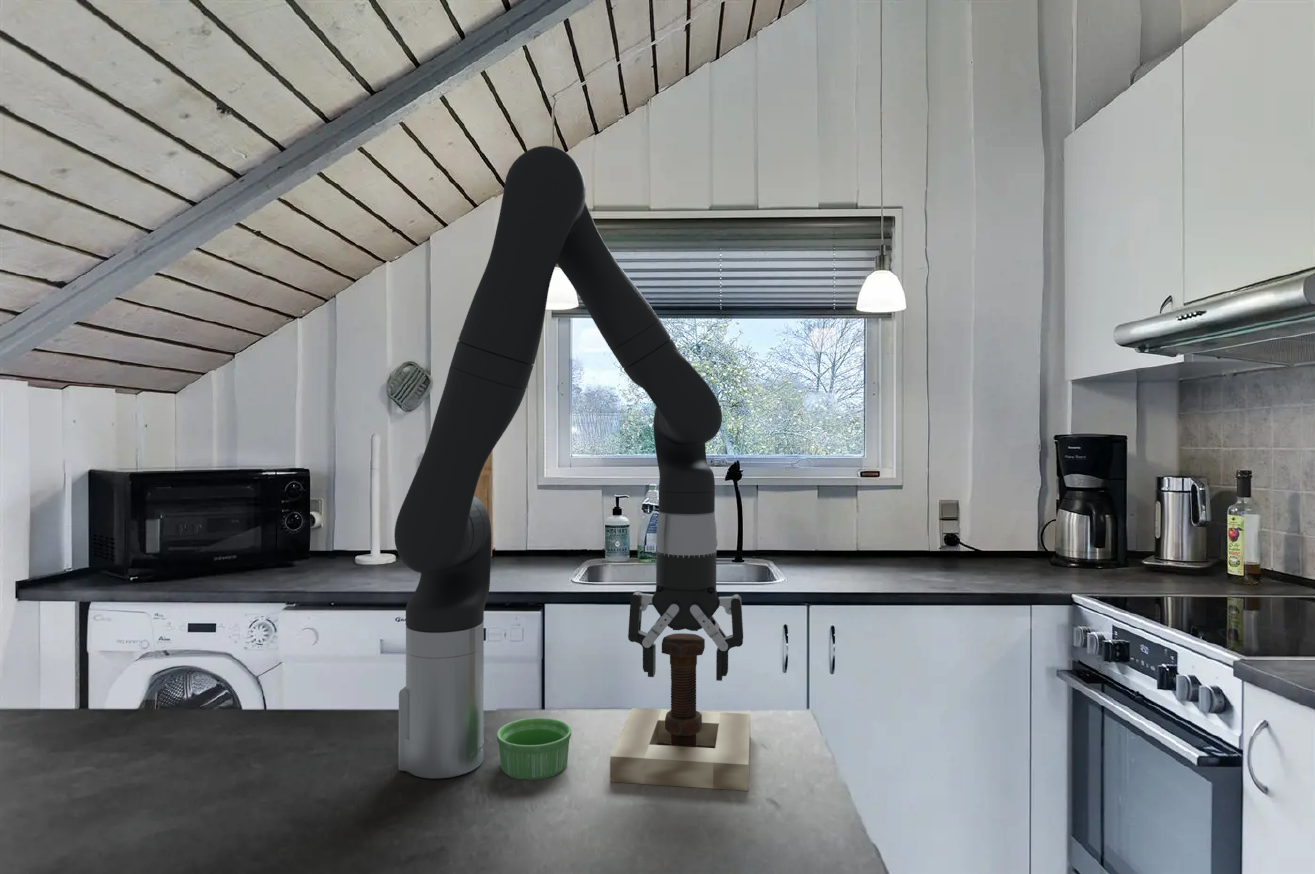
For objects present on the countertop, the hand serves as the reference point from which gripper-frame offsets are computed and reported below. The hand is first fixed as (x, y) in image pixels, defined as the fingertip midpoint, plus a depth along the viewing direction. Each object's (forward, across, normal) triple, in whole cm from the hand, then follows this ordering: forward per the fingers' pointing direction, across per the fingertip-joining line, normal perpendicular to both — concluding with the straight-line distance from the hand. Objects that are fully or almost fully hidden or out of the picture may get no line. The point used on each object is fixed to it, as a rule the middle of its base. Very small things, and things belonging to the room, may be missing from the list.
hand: (685, 677), depth 99 cm
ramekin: (+10, -18, -5) cm, 21 cm away
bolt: (+10, 0, 0) cm, 10 cm away
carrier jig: (+10, 0, 0) cm, 10 cm away
